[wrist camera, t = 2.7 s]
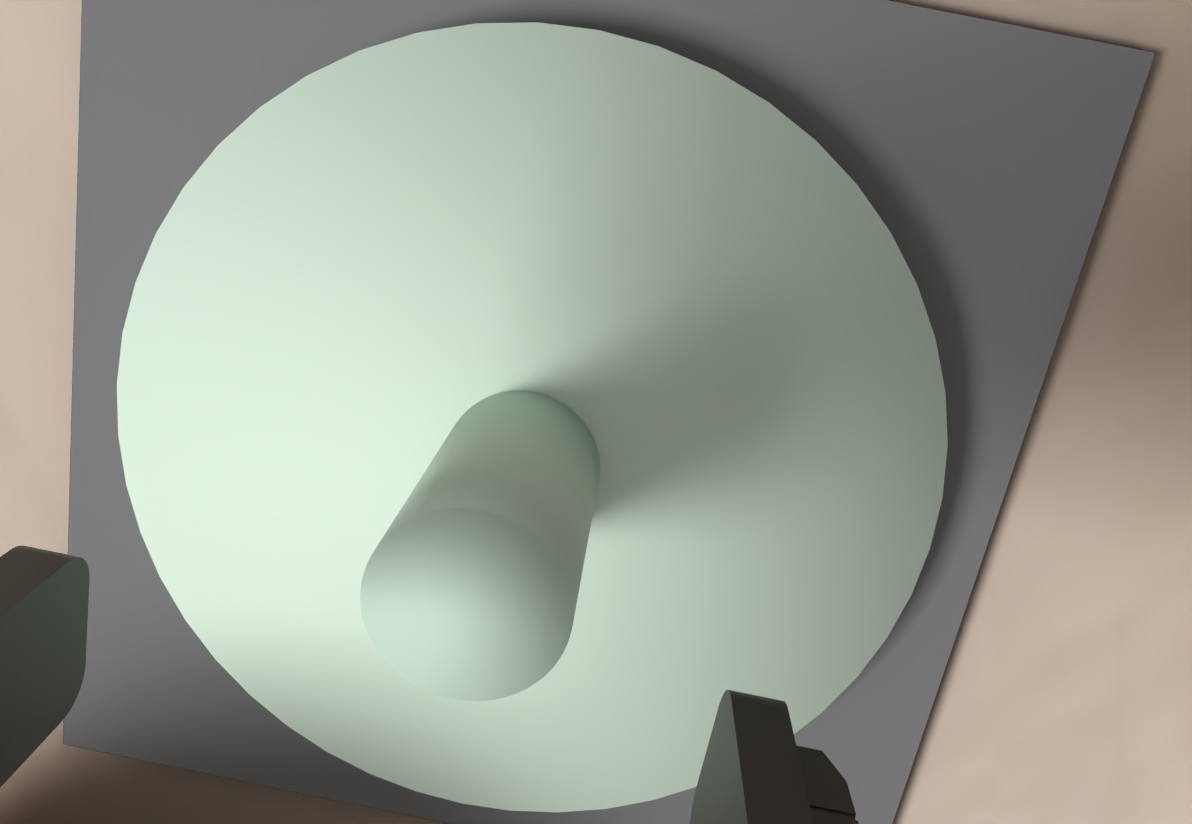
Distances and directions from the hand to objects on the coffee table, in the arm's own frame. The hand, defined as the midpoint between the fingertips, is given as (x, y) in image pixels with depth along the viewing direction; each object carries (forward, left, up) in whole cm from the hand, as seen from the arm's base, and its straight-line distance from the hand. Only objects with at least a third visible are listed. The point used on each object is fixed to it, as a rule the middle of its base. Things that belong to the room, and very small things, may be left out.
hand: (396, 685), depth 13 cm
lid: (0, 0, -10) cm, 10 cm away
